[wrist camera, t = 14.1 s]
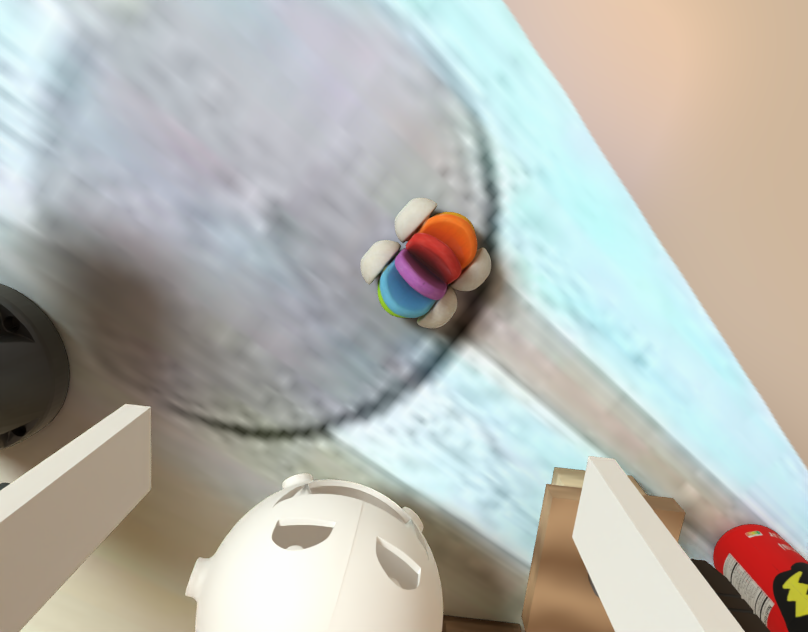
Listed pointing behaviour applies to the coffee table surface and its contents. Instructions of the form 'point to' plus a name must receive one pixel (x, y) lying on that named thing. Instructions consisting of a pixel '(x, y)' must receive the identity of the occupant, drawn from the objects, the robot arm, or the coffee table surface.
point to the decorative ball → (320, 566)
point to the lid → (572, 566)
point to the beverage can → (766, 575)
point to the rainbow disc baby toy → (426, 264)
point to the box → (476, 625)
